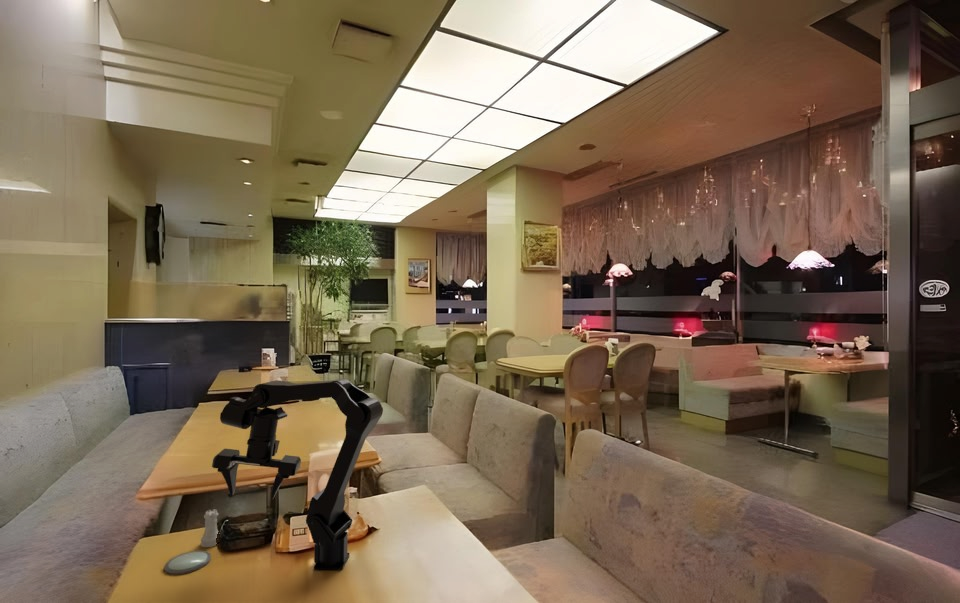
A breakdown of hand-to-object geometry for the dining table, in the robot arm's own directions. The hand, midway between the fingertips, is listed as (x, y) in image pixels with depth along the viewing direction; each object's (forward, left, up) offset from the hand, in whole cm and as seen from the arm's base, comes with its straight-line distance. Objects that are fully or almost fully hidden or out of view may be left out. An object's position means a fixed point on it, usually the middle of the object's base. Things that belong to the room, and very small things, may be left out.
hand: (252, 496), depth 110 cm
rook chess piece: (+12, -4, -14) cm, 19 cm away
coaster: (+12, +5, -13) cm, 19 cm away
